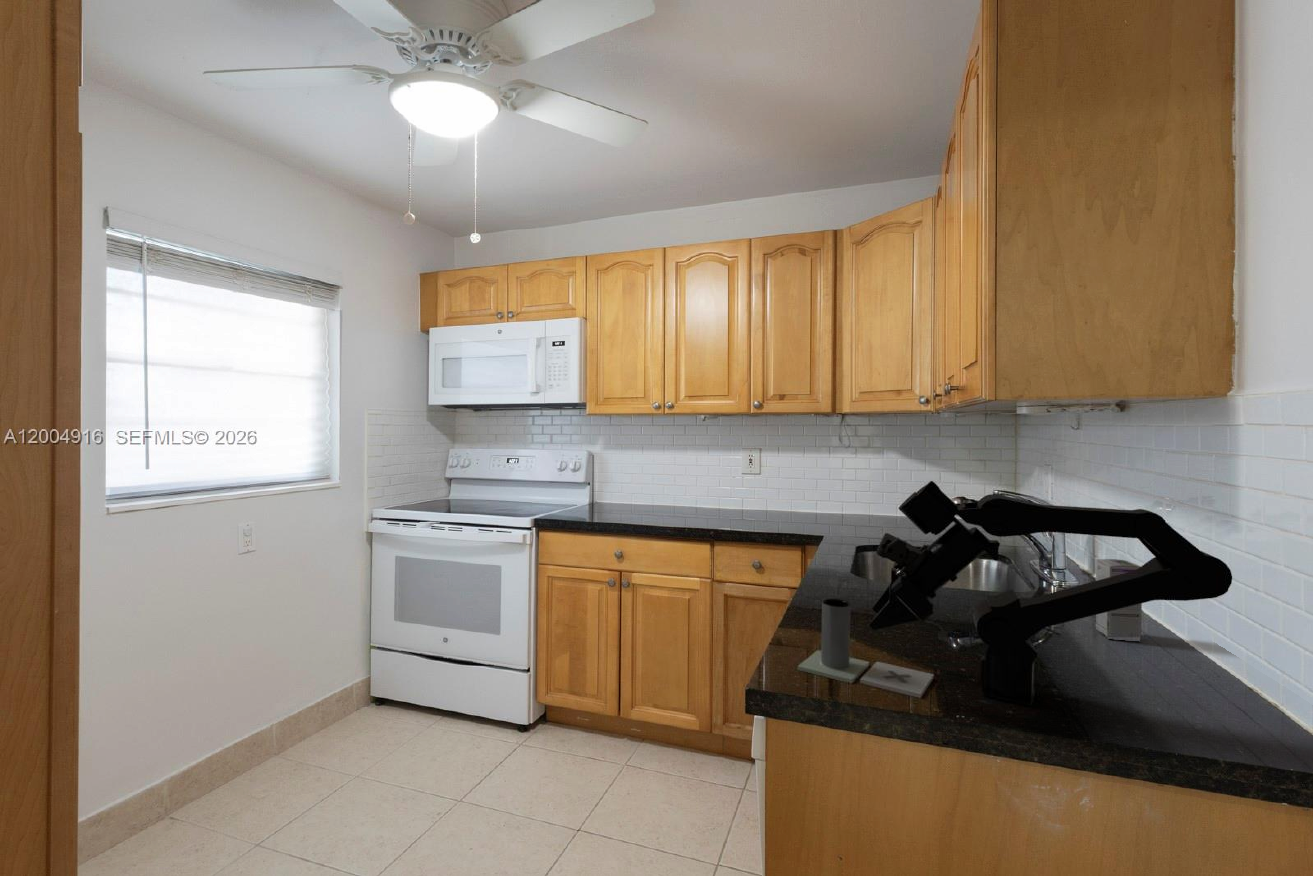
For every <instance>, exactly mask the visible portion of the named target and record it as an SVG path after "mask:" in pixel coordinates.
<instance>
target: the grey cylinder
mask: <svg viewBox="0 0 1313 876" xmlns="http://www.w3.org/2000/svg"><path fill="white" fill-rule="evenodd" d="M850 644H851V603H850V602H849V601H847V600H844V599H841V598H840V599H838V598H827V599H824V600H822V601H821V644H820V645H821V646H820V647H821V648H820V651H821V663H822V664H823V665H825V666H827V667H830V668H837V669H841V668H846V667H848V666H849V657H850V652H851V651H850V647H851V645H850Z"/></svg>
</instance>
